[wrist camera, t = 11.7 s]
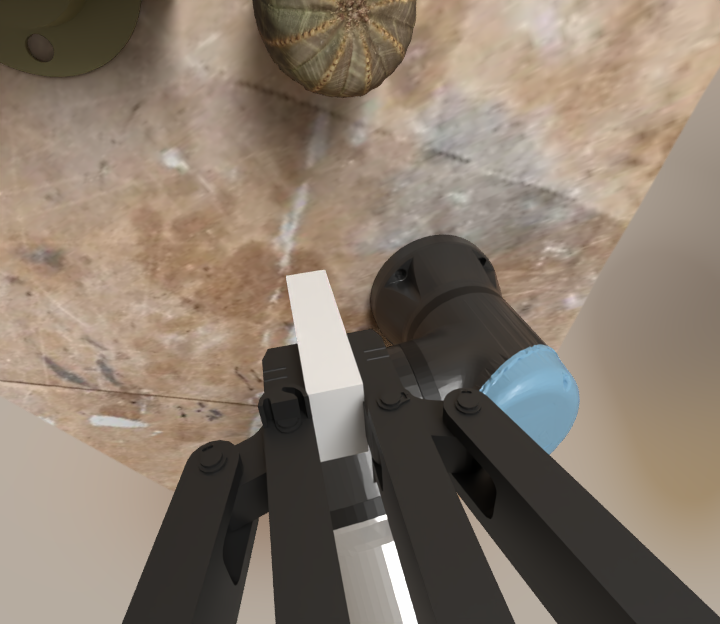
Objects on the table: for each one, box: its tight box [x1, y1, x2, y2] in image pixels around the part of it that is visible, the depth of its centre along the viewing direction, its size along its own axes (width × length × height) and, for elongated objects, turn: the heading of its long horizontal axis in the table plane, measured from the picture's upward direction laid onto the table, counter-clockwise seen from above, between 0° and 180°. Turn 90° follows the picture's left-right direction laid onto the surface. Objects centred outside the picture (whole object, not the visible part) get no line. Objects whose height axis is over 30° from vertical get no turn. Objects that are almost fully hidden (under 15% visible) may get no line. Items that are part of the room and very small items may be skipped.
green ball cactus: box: [253, 0, 416, 98], centre depth 32 cm, size 11×11×12 cm
